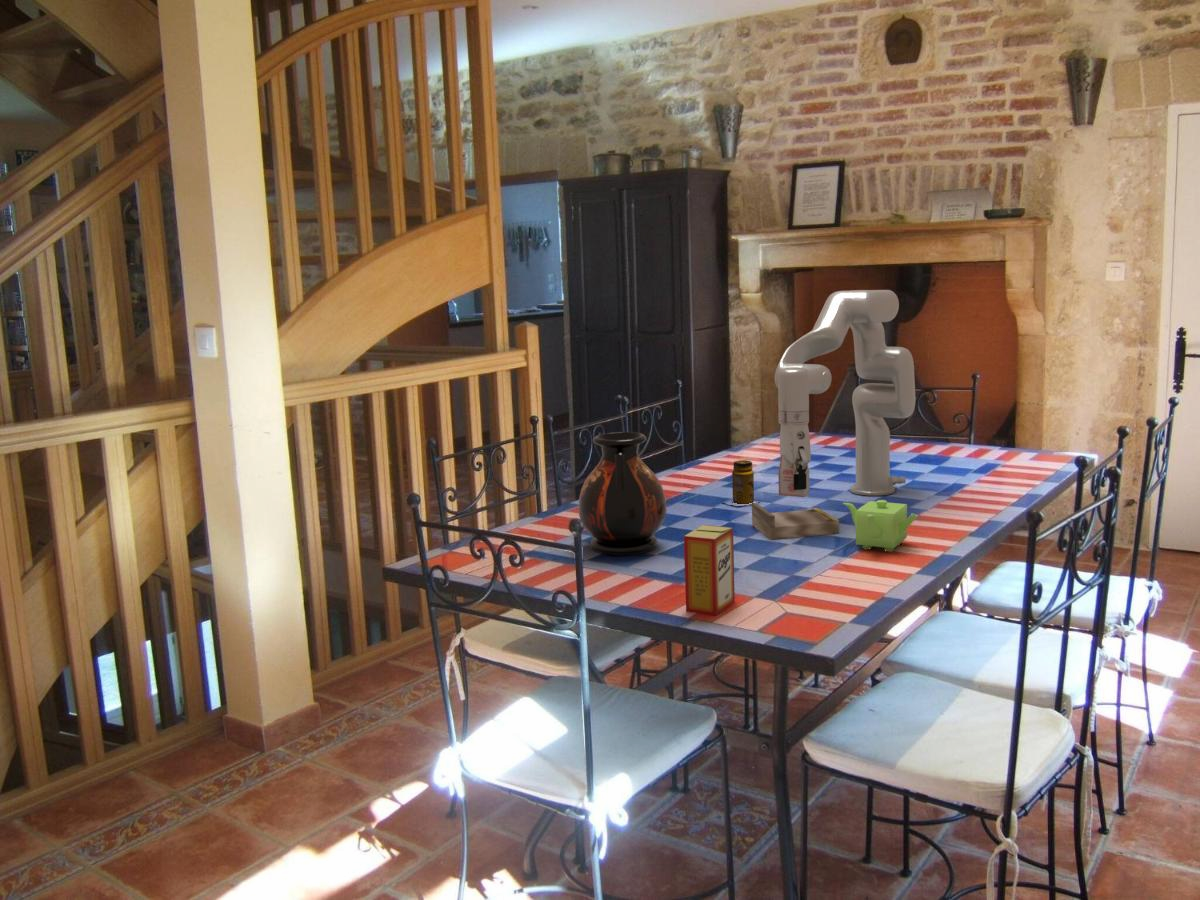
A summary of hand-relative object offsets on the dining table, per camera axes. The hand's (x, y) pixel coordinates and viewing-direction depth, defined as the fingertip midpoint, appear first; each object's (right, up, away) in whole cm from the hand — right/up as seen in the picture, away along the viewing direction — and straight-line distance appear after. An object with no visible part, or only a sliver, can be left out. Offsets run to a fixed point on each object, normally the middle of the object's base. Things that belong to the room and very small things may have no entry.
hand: (794, 485), depth 264 cm
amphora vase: (-43, -15, -7) cm, 46 cm away
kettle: (+17, -14, -16) cm, 27 cm away
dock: (+1, -11, +2) cm, 12 cm away
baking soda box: (-27, -23, -52) cm, 63 cm away
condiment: (-9, -6, +33) cm, 34 cm away
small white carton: (0, -2, 0) cm, 3 cm away
